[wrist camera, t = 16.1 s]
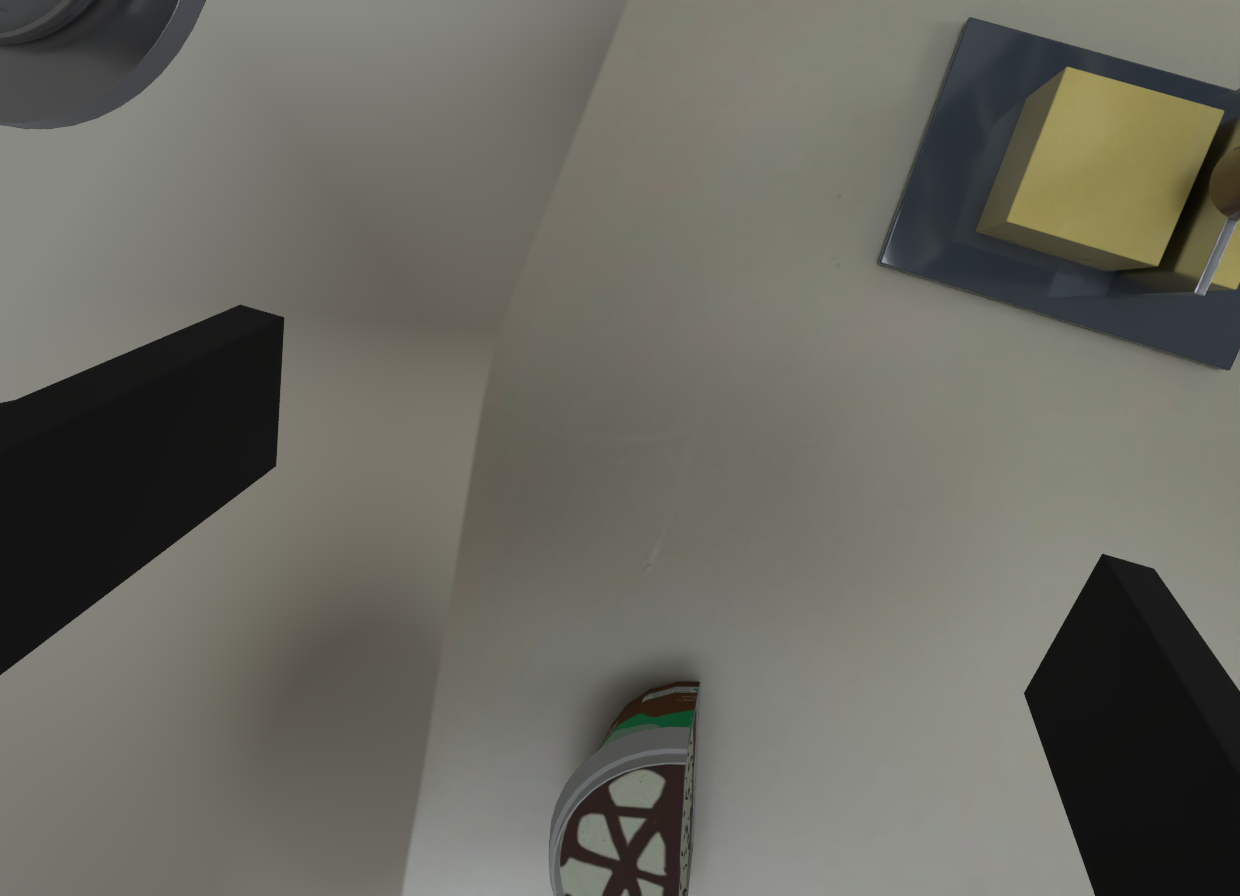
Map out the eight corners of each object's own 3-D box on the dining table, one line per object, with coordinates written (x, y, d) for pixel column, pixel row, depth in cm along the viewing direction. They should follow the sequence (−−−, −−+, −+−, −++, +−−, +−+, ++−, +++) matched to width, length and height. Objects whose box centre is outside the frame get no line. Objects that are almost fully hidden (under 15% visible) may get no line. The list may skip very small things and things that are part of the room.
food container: (585, 645, 46) (539, 736, 36) (701, 655, 45) (686, 750, 35) (581, 855, 48) (537, 995, 38) (692, 869, 47) (676, 1015, 37)
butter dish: (876, 264, 41) (897, 256, 35) (963, 23, 39) (1001, -28, 33) (1218, 369, 39) (1300, 380, 33) (1329, 125, 37) (1437, 91, 31)
